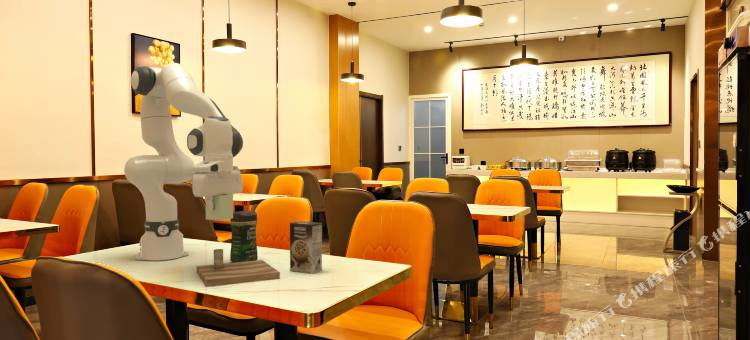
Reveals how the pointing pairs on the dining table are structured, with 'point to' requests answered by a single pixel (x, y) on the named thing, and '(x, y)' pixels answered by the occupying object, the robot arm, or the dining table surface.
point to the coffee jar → (243, 236)
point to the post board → (235, 271)
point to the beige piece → (221, 208)
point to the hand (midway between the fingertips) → (219, 209)
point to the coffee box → (305, 247)
